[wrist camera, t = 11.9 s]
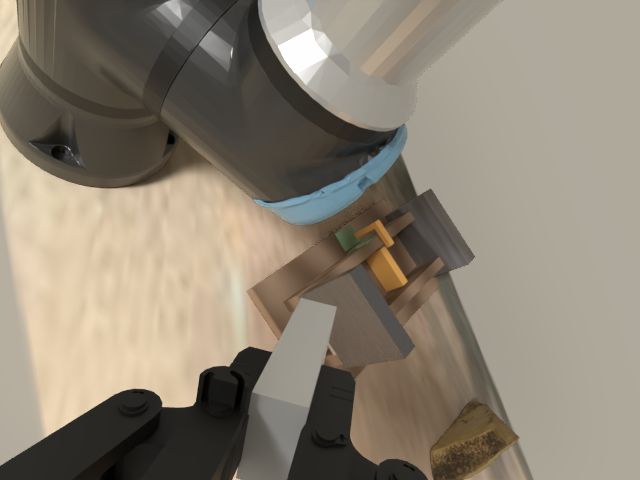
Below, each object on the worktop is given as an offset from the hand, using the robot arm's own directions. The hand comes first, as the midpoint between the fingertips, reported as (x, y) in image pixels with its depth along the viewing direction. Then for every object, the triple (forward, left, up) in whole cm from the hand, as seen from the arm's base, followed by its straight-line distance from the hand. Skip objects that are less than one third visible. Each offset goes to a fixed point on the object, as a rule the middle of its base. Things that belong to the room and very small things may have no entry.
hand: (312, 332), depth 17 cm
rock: (+23, +27, -24) cm, 43 cm away
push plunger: (+2, +17, -22) cm, 28 cm away
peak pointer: (-1, +26, -22) cm, 34 cm away
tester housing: (+1, +23, -24) cm, 33 cm away
